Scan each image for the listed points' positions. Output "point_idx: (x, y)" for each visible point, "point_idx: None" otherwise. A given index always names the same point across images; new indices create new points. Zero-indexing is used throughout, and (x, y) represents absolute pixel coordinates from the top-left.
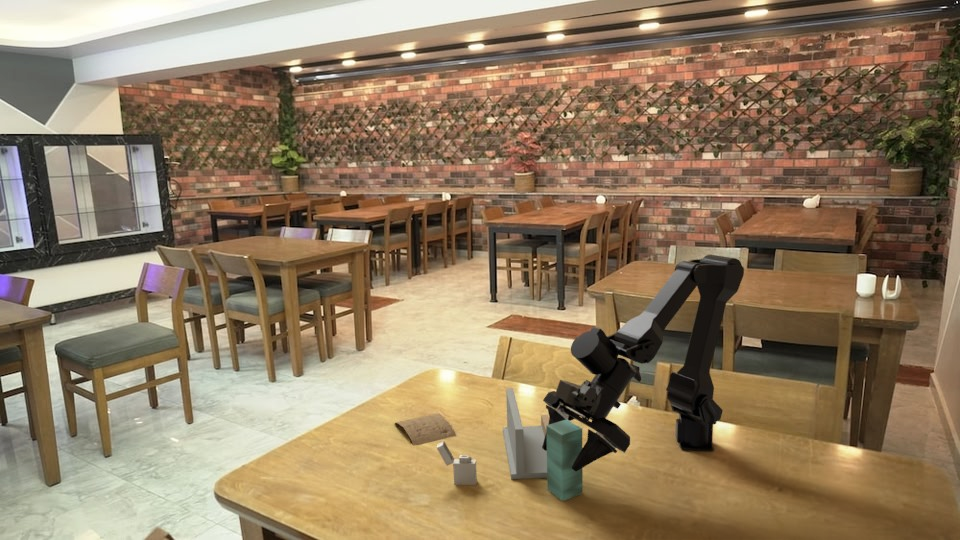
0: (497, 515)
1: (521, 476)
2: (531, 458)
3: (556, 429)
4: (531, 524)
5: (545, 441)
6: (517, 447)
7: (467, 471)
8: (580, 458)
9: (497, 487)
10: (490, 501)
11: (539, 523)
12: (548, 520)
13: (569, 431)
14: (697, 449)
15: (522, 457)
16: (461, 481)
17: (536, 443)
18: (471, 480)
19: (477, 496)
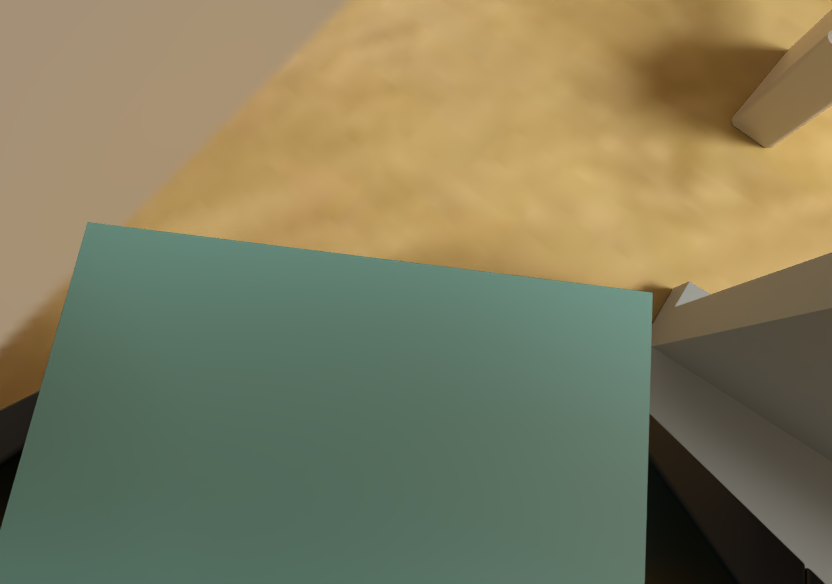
0: (450, 51)
1: (652, 334)
2: (787, 513)
3: (350, 324)
4: (298, 117)
5: (657, 445)
6: (801, 272)
7: (808, 42)
8: (24, 399)
9: (646, 186)
10: (561, 91)
11: (279, 147)
12: (267, 191)
13: (54, 479)
14: None
15: (720, 321)
16: (781, 60)
17: None
18: (757, 91)
19: (633, 71)
